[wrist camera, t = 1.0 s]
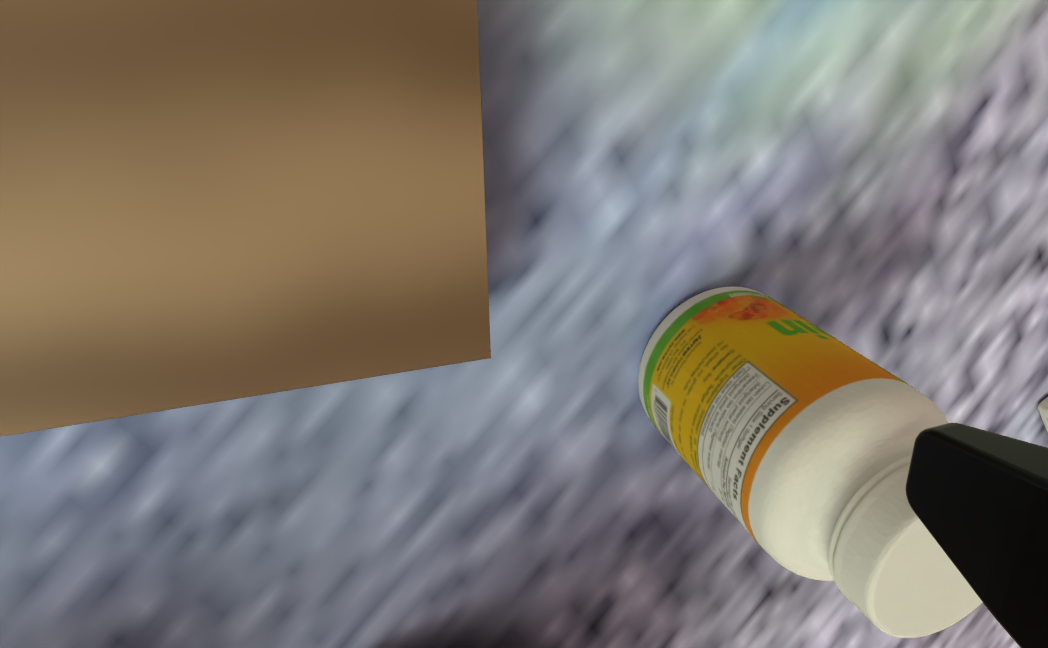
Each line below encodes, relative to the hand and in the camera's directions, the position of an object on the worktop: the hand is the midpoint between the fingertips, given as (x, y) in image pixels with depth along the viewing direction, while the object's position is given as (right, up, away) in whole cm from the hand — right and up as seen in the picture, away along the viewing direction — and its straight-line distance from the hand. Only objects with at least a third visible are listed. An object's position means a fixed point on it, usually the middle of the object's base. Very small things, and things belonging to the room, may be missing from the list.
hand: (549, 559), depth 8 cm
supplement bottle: (+6, +1, +17) cm, 18 cm away
